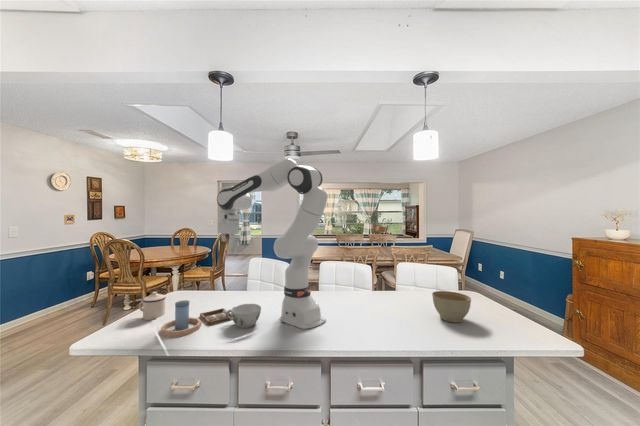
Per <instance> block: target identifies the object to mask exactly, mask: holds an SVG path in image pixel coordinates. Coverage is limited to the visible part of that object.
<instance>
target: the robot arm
mask: <svg viewBox="0 0 640 426" xmlns="http://www.w3.org/2000/svg"><path fill="white" fill-rule="evenodd" d="M323 178H324V177H323V174H322V173H321V171H320V170H318V169H317V168H315V167H312V166H309V165H298V163H297V162H296V160H294V159H292V158H290V157H289V158H284V159H282V160H280V161H278V162H276V163H274V164H273V165H271V166H269V167H267V168H266V169H265V170H263V171H261V172H259V173H257V174H255V175H253V176H250V177H248V178H246V179H244V180H242V181H241V182H239V183H237V184H235V185H224V186H222V187H220V190H219V193H217V197H216V201H217V202H216V203H217V205H218V206H219V209H218V222H217V233H218V234H220V238H221V242H225V243H226V242H227V238H226V235H227V234H228V235H229V238H228V243H229V244H233V243H234V239H235V235H238V234H239V230H240V220H241V216H240V215H239V214H238V213H237V211H245V210H248V209H249V208H250V207H251V205H252V196H251V195H250V193H254V192H274V191H277V190H279V189H281V188H283V187H285V186H286V185H288V184H289V185H290V186H291V188H293V189H294V190H295V191H296V192H298V194H300V195H302V197H303V198H302V201H301V203H300V206H299V208H298V210H297V213H296V216H295V218H294V220H293V222H292V223H291V224H290V226H289V227H288V229H287V230H286V231H285V232H284V233H282V235H281V236H279V237H277V238H276V239H275V241H274V243H273V251H274V254H275V255H276V256H277V257H278V258H280V259H286V260H287V259H288V260H289V259H291V261H290V263H289V265H288V266H287V267H286V269H285V271H284V272H285V273H284V275H285V276H284V281H285V282H284V287H283V295H284V297H283V299H282V303H281V304H282V305H281V315H280V317H279V320H280V321H282V322H283V323H284V324H287V325H291V326H293V327H295V328H299V329H302V330H307V329H311V328H312V329H313V328H315V327H318V326H320V325H323V324H325V323H326V321H327V318H326V317H325V316H323V315H322V314H321V313H322V312H321V308H320V306H319V303H318V302H317V301H316V300H315V299H314V298H313V296H312V295H311V293H312V292H313V291H312V289H310V286H309V269H310V265H311V261H312V258H313V256H314V254H315V253H316V252H317V250H318V249H319V241H318V239H317V238H316V237H315V236H314V235H312V234H313V233H314V232H315V231H316V230H317V228H318V225H319V223H320V221H321V219H322V216H323V214H324V212H325V209H326V206H327V201H328V193H327V192H326V191H325V190H324V188H322V187H320V186H321V185H322V183H323Z"/></svg>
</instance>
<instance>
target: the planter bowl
mask: <svg viewBox="0 0 640 426" xmlns="http://www.w3.org/2000/svg"><path fill="white" fill-rule="evenodd" d="M431 293H432V295H431V296H432V302H433V305H434V308H435V311H437V313H438V315H439V317H440V319H442V320H443V321H446V322H451V323H462V322H463V321H464V318H465V317H466V316H467V315H468V313H469V311H470V309H471V302H472V297H470V296H469V295H467V294H463V293H460V292H457V291H447V290H436V291H433V292H431Z"/></svg>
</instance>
